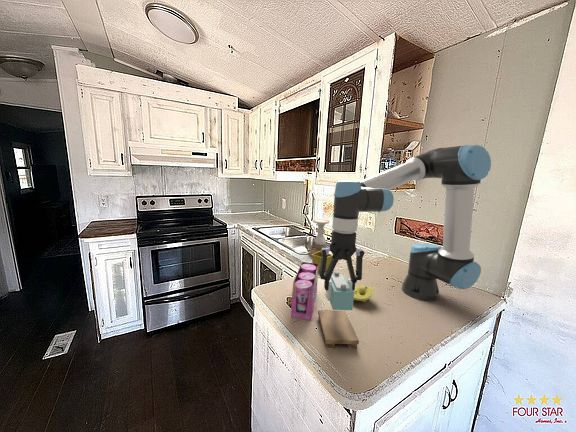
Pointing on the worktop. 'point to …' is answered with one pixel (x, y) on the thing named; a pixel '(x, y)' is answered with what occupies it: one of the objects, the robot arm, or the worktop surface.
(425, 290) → the robot arm
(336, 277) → the housing
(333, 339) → the stand
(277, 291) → the worktop surface
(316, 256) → the flower pot
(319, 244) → the candle holder
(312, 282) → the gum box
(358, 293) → the plastic component
